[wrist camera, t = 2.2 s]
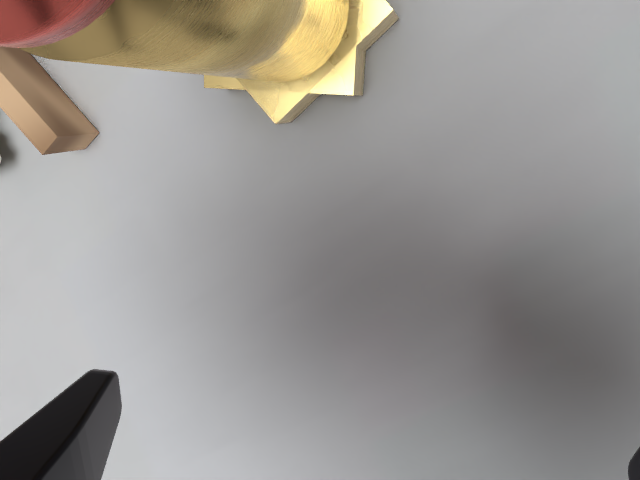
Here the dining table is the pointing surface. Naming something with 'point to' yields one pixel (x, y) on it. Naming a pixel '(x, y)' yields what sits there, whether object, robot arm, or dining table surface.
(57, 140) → the u-shaped wooden frame
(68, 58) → the red-topped star-based cylinder
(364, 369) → the dining table surface
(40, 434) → the robot arm
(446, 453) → the dining table surface
